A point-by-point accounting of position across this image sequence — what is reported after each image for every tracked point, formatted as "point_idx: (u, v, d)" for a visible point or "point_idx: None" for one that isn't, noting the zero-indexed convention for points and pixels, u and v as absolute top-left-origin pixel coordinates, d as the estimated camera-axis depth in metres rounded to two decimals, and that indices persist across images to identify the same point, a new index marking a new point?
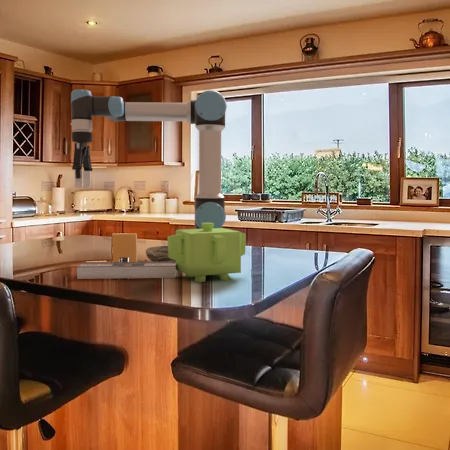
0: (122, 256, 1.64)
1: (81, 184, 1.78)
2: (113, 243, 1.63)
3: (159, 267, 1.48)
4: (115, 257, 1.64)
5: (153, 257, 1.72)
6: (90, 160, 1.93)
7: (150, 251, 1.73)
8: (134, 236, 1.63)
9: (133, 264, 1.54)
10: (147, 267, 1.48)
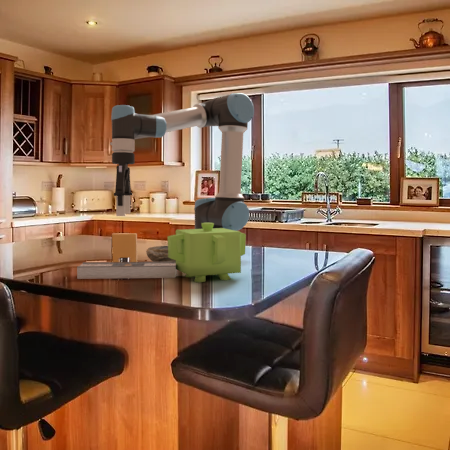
0: (122, 256, 1.64)
1: (123, 212, 1.57)
2: (113, 243, 1.63)
3: (159, 267, 1.48)
4: (115, 257, 1.64)
5: (153, 257, 1.72)
6: None
7: (151, 251, 1.73)
8: (134, 236, 1.64)
9: (133, 264, 1.54)
10: (147, 267, 1.48)
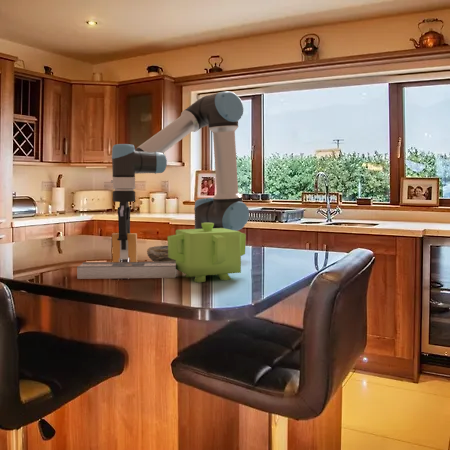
0: None
1: (127, 256, 1.63)
2: (113, 243, 1.63)
3: (159, 267, 1.48)
4: (115, 257, 1.64)
5: (154, 257, 1.73)
6: (129, 225, 1.70)
7: (151, 251, 1.74)
8: (134, 236, 1.64)
9: (133, 264, 1.54)
10: (147, 267, 1.48)
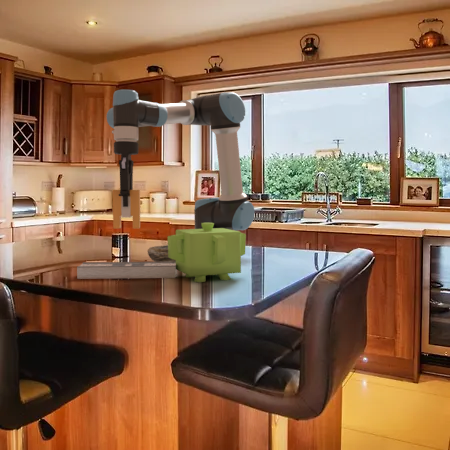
0: None
1: (129, 213, 1.48)
2: (114, 200, 1.48)
3: (159, 267, 1.48)
4: (116, 215, 1.49)
5: (154, 256, 1.73)
6: (132, 182, 1.55)
7: (152, 250, 1.74)
8: (137, 192, 1.49)
9: (133, 264, 1.54)
10: (147, 267, 1.48)
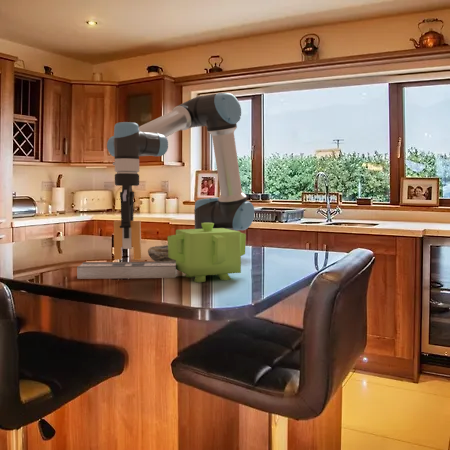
0: None
1: (130, 245, 1.49)
2: (114, 231, 1.49)
3: (159, 267, 1.48)
4: (117, 246, 1.49)
5: (155, 256, 1.73)
6: None
7: (152, 250, 1.75)
8: (138, 223, 1.49)
9: (133, 264, 1.54)
10: (147, 267, 1.48)
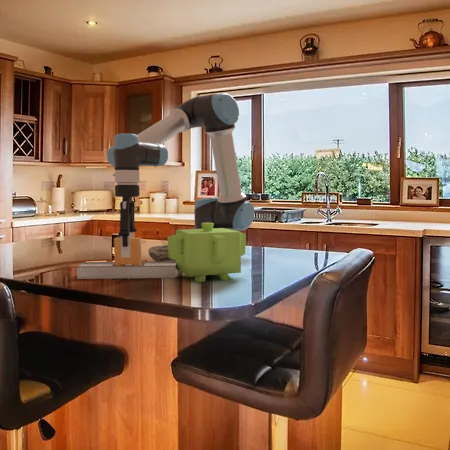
0: (125, 262, 1.50)
1: (128, 253, 1.46)
2: (115, 248, 1.50)
3: (159, 267, 1.48)
4: (117, 264, 1.50)
5: (155, 256, 1.74)
6: (134, 218, 1.58)
7: (152, 250, 1.75)
8: (138, 241, 1.50)
9: (133, 264, 1.54)
10: (147, 267, 1.48)
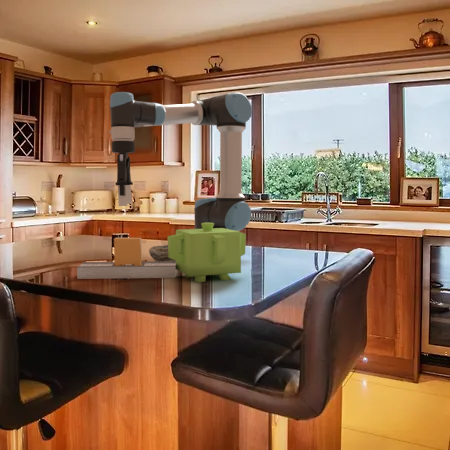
0: (125, 262, 1.50)
1: (125, 202, 1.53)
2: (115, 248, 1.50)
3: (159, 267, 1.48)
4: (117, 264, 1.50)
5: (156, 256, 1.74)
6: None
7: (153, 250, 1.75)
8: (138, 241, 1.50)
9: (133, 264, 1.54)
10: (147, 267, 1.48)
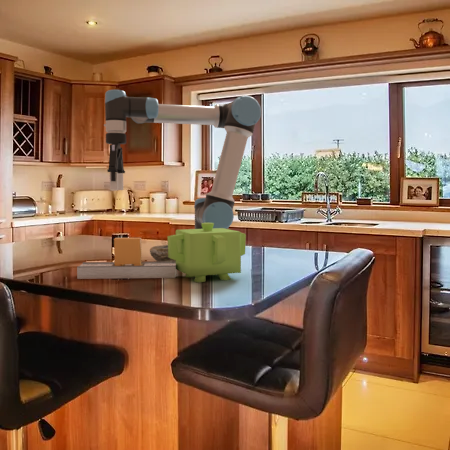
0: (125, 262, 1.50)
1: (116, 187, 1.73)
2: (115, 248, 1.50)
3: (159, 267, 1.48)
4: (117, 264, 1.50)
5: (156, 256, 1.75)
6: (122, 162, 1.88)
7: (154, 250, 1.76)
8: (138, 241, 1.50)
9: (133, 264, 1.54)
10: (147, 267, 1.48)
